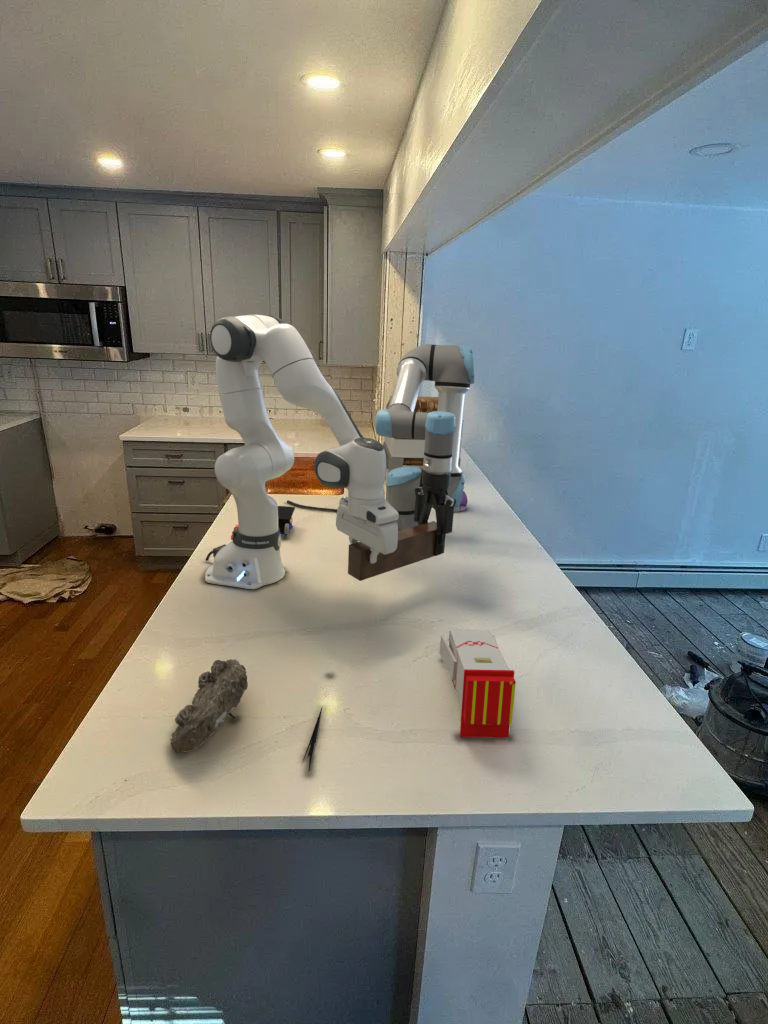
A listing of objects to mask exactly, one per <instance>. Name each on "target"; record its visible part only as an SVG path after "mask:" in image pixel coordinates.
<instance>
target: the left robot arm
mask: <svg viewBox="0 0 768 1024" xmlns="http://www.w3.org/2000/svg"><path fill="white" fill-rule="evenodd" d="M209 332H210V333H209V341H210V346H211V348H212V351H213V352H214V354H215V355H216V358H215V376H216V385H217V390H218V395H219V400H220V404H221V408H222V413H223V418H224V422H225V424H226V425H227V426H228V427H229V428H230V429H232V430H233V431H236V432H237V433H238V434H239V436H240V438H241V439H242V441H243V443H244V445H242V446H238V447H237V446H236V447H233V448H231V449H229V450H227V451H226V452H224V453H222V454H221V455H219V456H218V457H217V458H216V461H215V462H214V475H215V477H216V480H217V481H218V483H219V484H220V485H221V487H223V488H225V489H227V491H229V492H230V494H231V495H232V497H233V499H234V501H235V504H236V511H237V524H236V525H235V526H234V527H233V530H232V532H231V535H230V540H231V541H230V542H229V543H227V544H224V543H223V544H222V545H218V546H217V547H214V548H212V550H211V551H209V553H208V554H206V555H207V556H206V557H205V562H209V559H210V558H211V556H212V557H213V561H212V564H210V566H209V567H208V568H207V570H206V572H205V573H204V580H205V582H206V583H207V584H208V583H209V584H214V585H220V586H228V587H233V588H234V587H235V588H241V589H248V590H256V589H259V588H261V587H263V586H267V585H272V584H275V583H276V582H279V581H281V580H283V578H284V577H285V575H286V571H285V568H284V565H283V560H282V556H281V545H282V541H281V539H282V537H281V534H280V528H279V527H278V506H279V505H278V502H277V500H276V499H274V498H273V497H272V496H271V495H268V493H267V492H268V491H267V489H266V483H267V482H268V481H271V480H274V479H277V478H280V477H282V476H283V475H284V474H286V473H287V472H288V471H290V470H291V469H292V468H293V465H294V464H295V452H294V449H293V448H292V446H291V445H290V444H289V443H288V442H287V441H286V440H284V439H283V438H281V436H280V435H279V434H278V432H277V431H276V429H275V428H274V426H273V424H272V422H271V419H270V417H269V414H268V410H267V407H266V403H265V398H264V394H263V390H262V384H261V381H260V378H259V367H260V365H261V364H262V363H264V364H265V365H266V367H267V368H268V371H269V373H270V376H271V379H272V380H273V382H274V384H275V387H276V389H277V391H278V392H279V394H280V395H281V397H282V399H284V400H285V401H287V402H288V403H289V404H291V405H293V406H296V407H299V408H304V409H307V410H310V411H312V412H314V413H317V414H318V415H319V416H321V417H322V419H324V420H325V422H326V424H327V425H328V427H329V428H330V430H331V432H332V434H333V436H334V437H335V439H336V441H337V442H338V444H339V445H338V446H334V447H330V448H328V449H327V448H326V449H325V450H323V451H321V452H319V453H318V454H317V456H316V457H315V460H314V464H313V470H314V474H315V477H316V479H317V481H318V482H319V483H320V484H321V485H322V486H324V487H326V488H329V489H346V490H347V492H348V493H347V496H345V495H344V496H342V497H341V498H340V499H339V505H338V507H337V509H338V510H337V512H336V515H335V527H336V530H337V531H338V532H340V533H342V534H344V535H346V536H348V541H349V545H350V544H354V543H357V542H361V543H363V544H365V545H367V546H369V547H371V549H370V550H371V551H372V553H371V555H368V562H370V563H375V562H376V561H377V555H378V554H379V552H380V553H382V554H389V553H392V552H394V551H395V550H396V549H397V543H398V526H397V524H396V522H395V521H396V520H398V517H399V514H398V512H397V511H396V510H395V509H394V508H393V507H392V506H391V505H390V504H389V503H388V501H387V500H386V490H385V483H386V480H387V467H386V454H385V449H384V447H383V443H381V442H379V441H378V440H376V439H373V438H370V437H364V436H363V435H362V433H361V431H360V429H359V428H358V426H357V425H356V423H355V421H354V419H353V417H352V416H351V414H350V413H349V411H348V409H347V407H346V405H345V403H344V402H343V401H342V399H341V397H340V396H339V394H338V392H337V391H336V390H335V389H334V388H333V387H332V386H331V385H330V384H329V382H328V381H327V380H326V378H325V377H324V375H323V374H322V372H321V371H320V369H319V367H318V365H317V364H316V363H317V362H316V361H315V359H314V357H313V355H312V353H311V350H310V349H309V347H308V345H307V343H306V341H305V340H304V339H303V337H302V336H301V334H300V332H299V331H298V330H297V328H296V327H295V326H294V325H292V324H290V323H287V322H286V321H284V320H283V319H282V318H280V317H277V316H275V315H271V314H267V315H263V314H253V313H251V314H246V315H245V314H244V315H236V316H233V315H229V316H225V317H222V318H219V319H217V320H215V322H213V324H212V326H211V328H210V331H209Z"/></svg>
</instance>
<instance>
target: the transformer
mask: <svg viewBox="0 0 768 1024" xmlns="http://www.w3.org/2000/svg"><path fill="white" fill-rule="evenodd" d="M390 399H391V397H390V398H389V400H388V402H387V403H386V405H385V409H388V406H389V403H390ZM437 406H438V396H418V397H417V401H416V405H415V409H414V412H424V413H430V412H433V411H437ZM463 431H464V419H463V418H462V427H461V438H460V449H459V460H458V467H459V468H460V469H461V462H462V458H461V452H462V443H463V442H462V438H463ZM382 442H383V443H382V445H383V447H384V449H385V454H386V468H388V473H389V472H390V471H391V470H393V469H396V468H400V467H416V466H417V467H423V461H424V449H425V440H419V439H407V438H389V437H384V440H383V441H382Z"/></svg>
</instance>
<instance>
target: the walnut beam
mask: <svg viewBox="0 0 768 1024" xmlns="http://www.w3.org/2000/svg"><path fill="white" fill-rule="evenodd" d="M437 532H438V531H437V522H436V521H435V520H432V521H428V523H425V524H422V525H418V526H414V527H411V528H407V529H404V530H400V531H398V543H397V549H396V550H395V551H394V552H392V553H389V554H382V553H380V552H379V554H378V555H377V561H376V562H375V563H370V562H368V555H371V553H372V551H371V550H370V549H371V547H369V546H367V545H365V544H363V543H361V542H359V541H358V542H357V543H354V544H350V543H349V544H348V556H347V574H348V575H349V576H351V577H353V578H354V579H356V580H358V581H359V582H361V581H365V580H368V579H370V578H374V577H376V576H380V575H383V574H385V573H388V572H392V571H394V570H397V569H400V568H403V567H407V566H409V565H412V564H415V563H419V562H421V561H424V560H427V559H430V558H433V557H435V556H434V543H435V533H437ZM446 536H447V534H446V535H445V538H446ZM445 546H446V543H445V544H443V551H442V554H444V553H445V548H446V547H445Z"/></svg>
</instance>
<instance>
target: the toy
mask: <svg viewBox="0 0 768 1024" xmlns="http://www.w3.org/2000/svg"><path fill="white" fill-rule="evenodd" d="M438 654H439V656H440V658H441V660H442V662H443V665H444V666H445V668H446V671H447V673H448V675H449V677H450V681H451V683H452V685H453V689H454V690H455V695H456V698H457V702H458V705H459V708H460V726H459V737H460V738H509V737H510V728H511V727H510V726H512V725H513V717H514V706H515V705H514V704H515V693H516V684H517V683H516V679H515V670H514V669H510V667H509V666H508V663H507V662H506V660H505V658H504V655H503V654H502V652H501V650H500V648H499V644H498V642H497V638H496V635H495V634H492V632H491V631H490V629H467V628H466V629H465V628H463V629H461V628H460V629H459V628H450V629H449V631H448V641H447V639H446V638H445V636H444V634H443V635H442V634H441V635H440V641H439V651H438Z"/></svg>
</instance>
